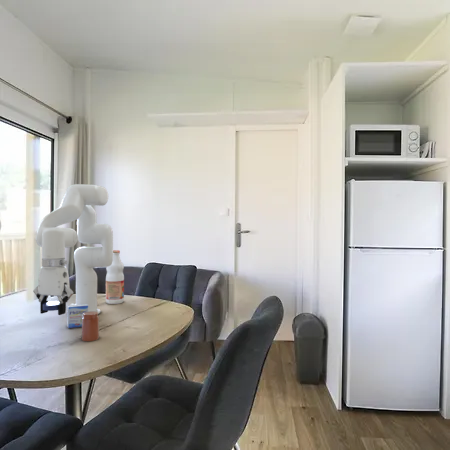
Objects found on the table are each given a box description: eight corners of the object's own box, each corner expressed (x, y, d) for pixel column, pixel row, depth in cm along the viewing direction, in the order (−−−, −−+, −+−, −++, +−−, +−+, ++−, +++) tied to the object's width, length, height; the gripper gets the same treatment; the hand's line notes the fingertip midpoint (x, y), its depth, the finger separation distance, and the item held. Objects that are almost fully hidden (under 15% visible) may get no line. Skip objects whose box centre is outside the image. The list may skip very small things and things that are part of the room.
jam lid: (49, 306, 136) (50, 300, 136) (67, 306, 135) (67, 301, 135) (38, 310, 129) (38, 304, 129) (56, 311, 128) (56, 305, 128)
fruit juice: (102, 302, 200) (102, 250, 199) (118, 299, 206) (118, 249, 206) (110, 305, 193) (111, 251, 193) (127, 302, 200) (127, 250, 199)
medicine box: (67, 328, 151) (67, 307, 151) (66, 325, 155) (67, 305, 155) (88, 326, 155) (88, 305, 155) (86, 323, 159) (86, 303, 159)
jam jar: (78, 340, 136) (78, 314, 136) (88, 335, 142) (88, 310, 142) (92, 341, 135) (92, 315, 135) (102, 336, 141) (102, 311, 141)
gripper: (81, 263, 133) (80, 312, 133) (40, 261, 137) (40, 309, 138) (67, 265, 126) (67, 317, 126) (24, 263, 130) (24, 314, 130)
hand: (53, 313), depth 132 cm, fingers closed on jam lid, 6 cm apart
